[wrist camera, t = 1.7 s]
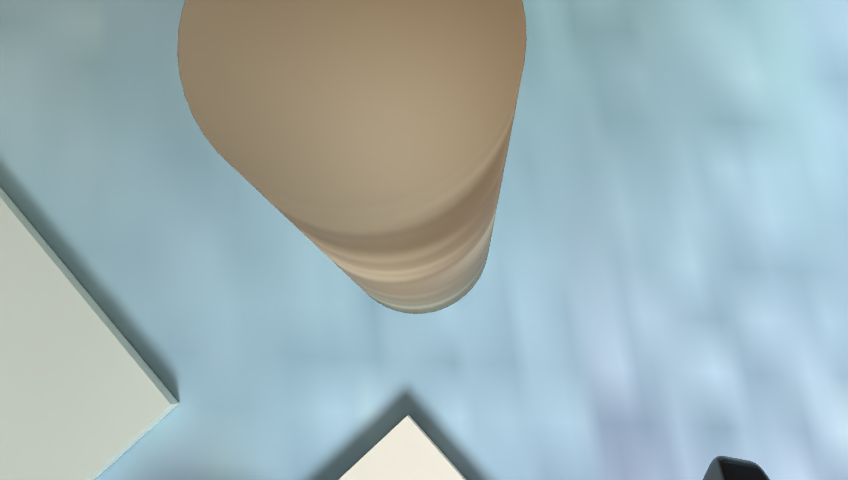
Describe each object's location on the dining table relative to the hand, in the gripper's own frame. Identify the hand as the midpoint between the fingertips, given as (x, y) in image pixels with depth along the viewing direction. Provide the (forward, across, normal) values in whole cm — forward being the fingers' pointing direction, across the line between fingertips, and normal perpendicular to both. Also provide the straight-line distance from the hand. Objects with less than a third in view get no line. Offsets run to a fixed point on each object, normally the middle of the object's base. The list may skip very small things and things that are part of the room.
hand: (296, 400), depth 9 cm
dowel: (+10, 0, +5) cm, 11 cm away
